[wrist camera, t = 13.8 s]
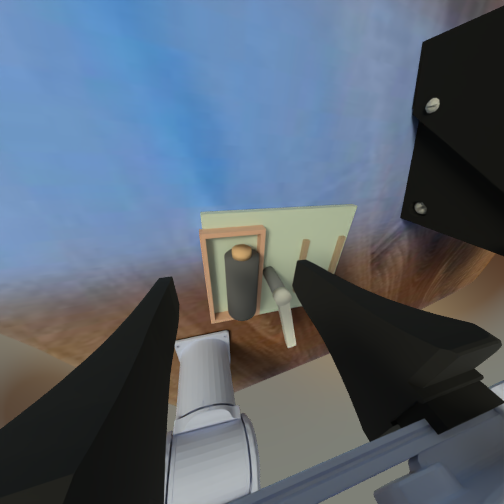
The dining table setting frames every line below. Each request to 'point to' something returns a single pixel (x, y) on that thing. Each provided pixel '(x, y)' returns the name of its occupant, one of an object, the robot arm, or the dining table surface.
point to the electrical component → (460, 135)
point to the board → (271, 248)
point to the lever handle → (285, 314)
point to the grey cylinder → (241, 281)
